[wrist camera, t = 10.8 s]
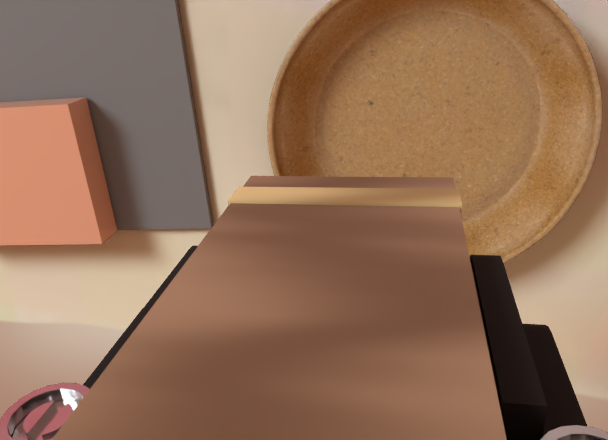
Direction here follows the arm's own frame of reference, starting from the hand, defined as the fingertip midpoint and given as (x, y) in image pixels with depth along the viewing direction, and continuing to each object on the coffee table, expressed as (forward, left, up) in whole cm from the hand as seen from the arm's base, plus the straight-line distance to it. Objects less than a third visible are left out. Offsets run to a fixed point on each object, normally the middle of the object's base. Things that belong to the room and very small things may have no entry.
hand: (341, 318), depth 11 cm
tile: (+19, -2, -16) cm, 25 cm away
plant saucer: (-3, +1, -18) cm, 18 cm away
